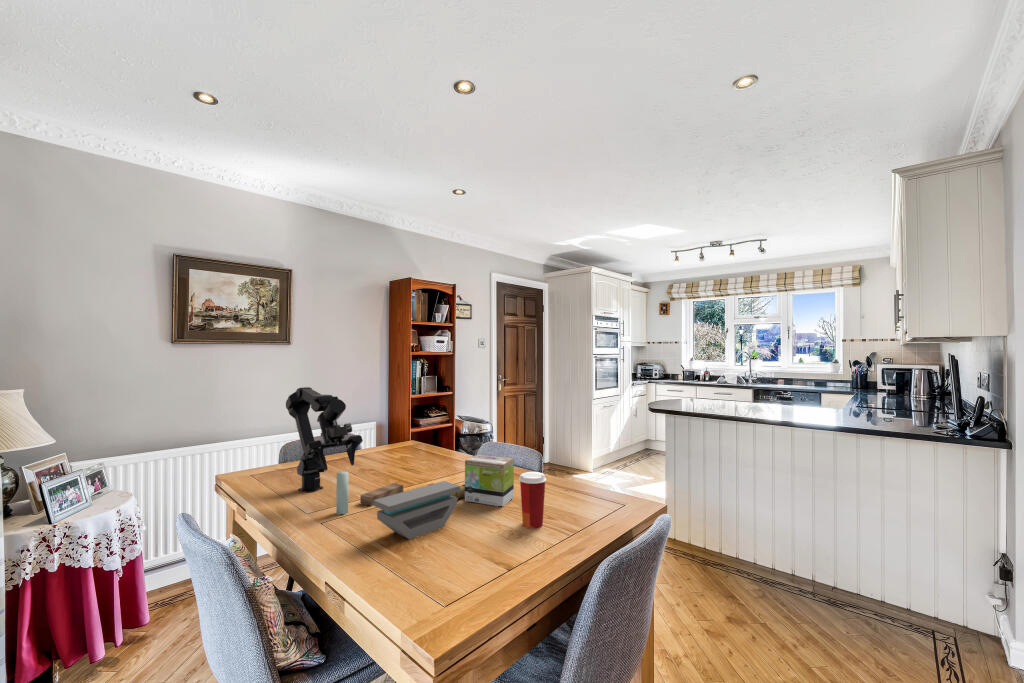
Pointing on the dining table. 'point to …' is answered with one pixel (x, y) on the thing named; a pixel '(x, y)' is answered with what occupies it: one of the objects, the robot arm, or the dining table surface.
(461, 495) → the gavel
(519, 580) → the dining table surface
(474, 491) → the tea box
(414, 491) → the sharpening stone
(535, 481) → the coffee cup
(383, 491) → the brown wooden block
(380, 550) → the dining table surface
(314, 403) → the robot arm
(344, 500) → the post
